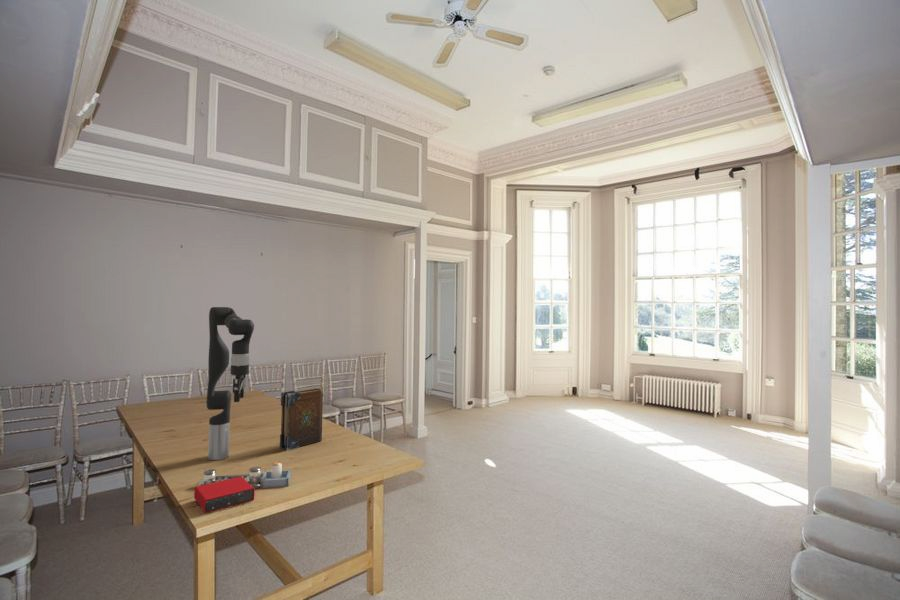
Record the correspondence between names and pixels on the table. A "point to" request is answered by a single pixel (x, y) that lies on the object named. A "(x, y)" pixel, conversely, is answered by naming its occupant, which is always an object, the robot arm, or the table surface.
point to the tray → (269, 482)
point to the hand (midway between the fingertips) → (238, 399)
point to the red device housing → (223, 494)
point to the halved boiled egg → (276, 470)
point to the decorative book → (301, 418)
